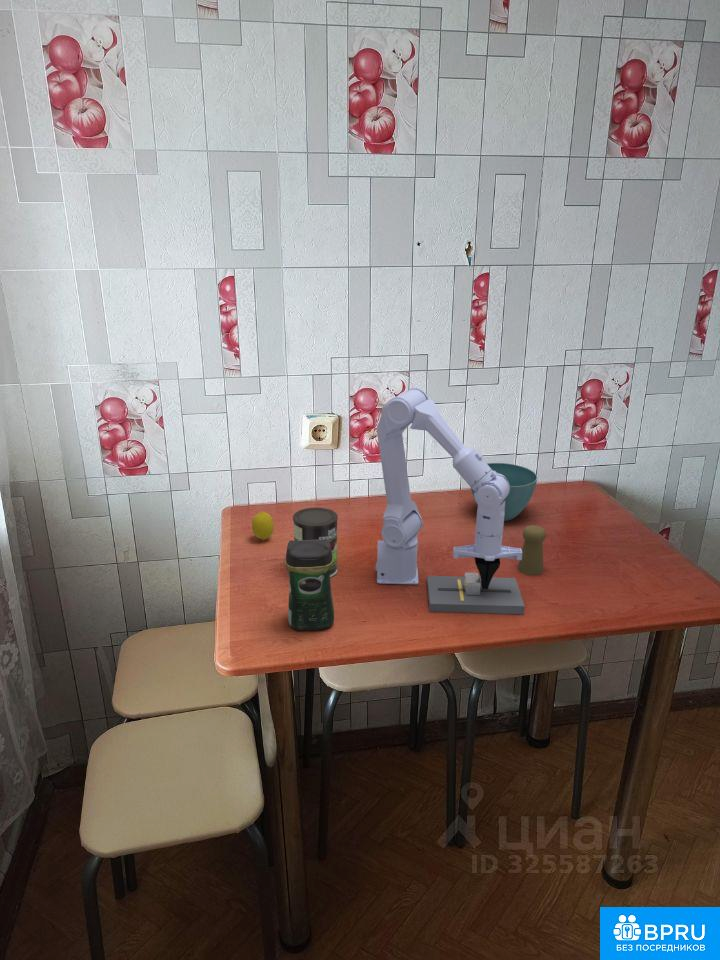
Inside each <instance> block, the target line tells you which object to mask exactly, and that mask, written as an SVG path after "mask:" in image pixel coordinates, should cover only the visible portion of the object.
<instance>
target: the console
mask: <svg viewBox="0 0 720 960" xmlns="http://www.w3.org/2000/svg"><path fill="white" fill-rule="evenodd" d="M479 578H480V582H481V577H480V576H479ZM426 586H427V597H428V607H429V612H431V613H432V612H433V613H458V614H459V613H461V614H462V613H464V614H466V613H467V614H495V615H496V614H500V615H501V614H502V615H525V607H526V606H525V603H524V599H523V597H522V594H521V590H520V587H519V585H518V581H517V578H516V577H495V576H493V577H492V579H491V581H490V584H489V587H488V589H482V586H481V584H480V595H466V593H465V588H464V576H455V575H454V576H453V575H450V576H448V575H427V578H426Z"/></svg>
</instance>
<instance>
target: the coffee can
mask: <svg viewBox="0 0 720 960" xmlns="http://www.w3.org/2000/svg"><path fill="white" fill-rule="evenodd" d="M338 519H339V518H338V514H337V512H336V511H334V510H332V509H329V508H326V507H307V508H303V509H300V510H298V511H295V512H294V514H293V515H292V521H293V541H296V540H317V539H328V540H329V542H330V546H331V550H332V556H333V564H332V567H331V569H330V579H331V578H333V577H334V576H335V575H336V574H337V573H338Z"/></svg>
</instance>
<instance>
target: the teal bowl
mask: <svg viewBox="0 0 720 960" xmlns="http://www.w3.org/2000/svg"><path fill="white" fill-rule="evenodd" d="M486 463H487V464H488V466H489V467H490V468H491V470H493V471H496V473H499V474H502V475H504V476H505V477H506V479H507V481H508V482H509V485H510V491H509V494H508V495H507V497H506V498H505V499H504V500H505V510H504V512H505V514H504V522H506V521H507V522H508V521H511V520H513V519H515V518H517V516H518V515H519V514H520V513H522V512H523V510H524V509H525V508H526V507H527V505H528V503H529V502H530V501H531V499H532V497H533V496H534V495H533V494H534V492H535V489H536V486H537V482H538V475H537V473H535V471H533V470H532V469H530V468H528V467H524V466H522V465H518V464H514V463H513V464H512V463H506V462H486ZM470 490H471V493H472V496H473V499H474V502H475V504H476V505H477V506H478V504H477V502H476V501H475V498H474V493H476V492H475V491H474V490H473V489H472V488H471V487H470Z"/></svg>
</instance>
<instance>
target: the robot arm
mask: <svg viewBox="0 0 720 960" xmlns="http://www.w3.org/2000/svg"><path fill="white" fill-rule="evenodd" d="M381 412H382V413H381V415H380V418H379V420H378V424H377V426H376V434H377V441H378V448H379V454H380V455H379V456H380V462H381V468H382V469H381V470H382V476H383V483H384V490H385V496H386V504H387V505H386V508H385V510H384V514H383V516H382V520H383V521H382V523H383V525H382V528H381V537H382V538H381V539H382V540H381V539H380V540H377V554H376V555H377V561H376V563H375V571H376V583H377V584H380V585H381V584H383V585H385V584H386V585H387V584H389V585H419V571H418V546H419V545H418V543H419V541H418V533H419V532H420V531H421V530H422V529H423V525H424V522H423V518H422V516H421V514H420V513H419V510H418V506H417V503H416V502H414V501H413V500H412V497H411V490H410V489H411V488H410V483H409V476H408V467H407V461H406V460H407V458H406V452H405V445H404V437H403V433H404V432H405V430H406V429H408V427H409V426H410V427H409V429H410V430H415V431H416V430H417V431H425V432H427V433H428V434H429V435H430V436H431V437H432V438H433V439H434V440H435V441H436V442H437V443H438V444H439V445H440V446H441V447H442V449H444V450H445V451H446V453H448V454H449V456H450V457H451V458H452V467H453V468H454V469H455V470H456V472H457V473H458V474H459V476H461V478H462V479H463V480H464V481H465V483H467V485H468V486H469V487H470V489H471V488H472V489H473V490H474V491H475V492H476V493H474V497H473V499H474V498H475V500H474V502H475V501H476V502H477V504H478V505H477V504H476V505H477V510H476V521H475V532H474V544H468V545H461V546H453V548H452V557H453V559H456V560H457V559H459V558H471V559H472V558H474V562H475V565H476V569H477V571H478V574H479V577H481V586H482V589H488V587H489V584H490V581H491V579H492V577H494V575H495V574H496V572H497V571H498V570H499V569H500V567H501V559H511V560H512V559H513V560H514V559H515V560H516V561H519V560H522V548H520V547H512V546H507V545H503V533H504V524H505V521H504V514H505V512H504V510H505V500H504V499H505V498H506V497H507V495H508V494H509V491H510V485H509V482H508V481H507V479H506V477H505V476H504V475H502V474H499V473H496V471H493V470H491V468H490V467H489V466H488V464H487V463H488V462H486V461H485V460H484V459H483V453H482V452H480V451H476V449H475V448H474V447H473V448H472V447H467V446H465V445H464V444H463V442H462V441H461V439H460V438H459V437H458V436H457V435H456V433H455V432H454V430H453V429H452V428H451V427H450V425H449V424H448V423H447V421H446V419H444V417H443V416H442V415H441V413H440V412H439V410H438V408H437V405H436V403H435V402H434V401H433V400H432V399H431V398H429V396H428V395H427V393H426V392H425V390H424V389H421V388H420V387H419V388H418V387H412V388H409V389H407V390H406V391H405V392H403V393H401V394H398V396H394V397H392V398H390V399H389V400H388V401H387V402H386V403H385V404H384V405H383V406H382V407H381ZM476 502H475V503H476Z"/></svg>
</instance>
